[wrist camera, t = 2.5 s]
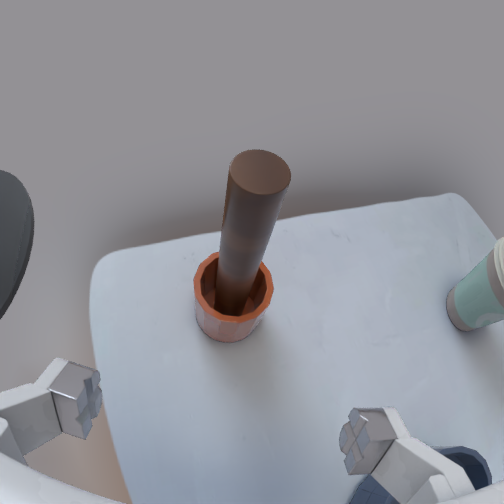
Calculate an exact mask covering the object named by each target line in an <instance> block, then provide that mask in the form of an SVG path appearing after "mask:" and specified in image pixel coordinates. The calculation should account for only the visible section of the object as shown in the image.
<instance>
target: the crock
mask: <svg viewBox="0 0 504 504" xmlns="http://www.w3.org/2000/svg"><path fill="white" fill-rule="evenodd" d="M218 260H219V252H216V253H213V254H211V255H210V256H209V257H208V258H207V259H205V260H204V261H203V262H202V263H201V264H200V265H199V267H198V270H197V272H196V274H195V277H194V280H193V281H194V297H195V310H196V319H197V321H198V324H199V326H200V327H201V329H202V330H203V331H204V332H205V333H206V334H207V335H208V336H209V337H211V338H213V339H215V340H217V341H221V342H236V341H239V340H242V339H244V338H245V337H247V336H248V335H249V334H251V332H252V331H253V330H254V329H255V328H256V327H257V325H258V323H259V322H260V320H261V318H262V316H263V315H264V313H265V311H266V309H267V308H268V306H269V304H270V301H271V297H272V294H273V290H274V287H273V282H272V277H271V273H270V271H269V270H268V269H267V267H266V266H265V265H264V263H263V262H262V261H261V264H260V266H259V269H258V272H257V274H256V277H255V280H254V283H253V285H252V288H251V291H250V294H249V296H248V299H247V302H246V304H245V307H244V310H243V312H242V315H241V316H239V317H238V316H229V315H223V314H221V313H219V312H218V311H216V310H214V299H215V289H216V279H217V269H218Z"/></svg>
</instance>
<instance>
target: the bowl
mask: <svg viewBox="0 0 504 504" xmlns="http://www.w3.org/2000/svg"><path fill="white" fill-rule="evenodd" d="M431 448H432V449H434V450H435V451H437V452H438V453H440V454H442V455H443V456H445V457H446V458H448V459H450V460H451V461H453V462H454V463H456V464H458V465H459V466H461V467H463V469H464V471H465V473H466V474H467V476H468V478H469V480H470V481H471V483H472V485H473V487H474V488H475V490H479V489H481V488H484V487H486V486H489V485H491V484H492V476H491V473H490V470H489V467H488V465H487V462H486V460H485V459H484V458H483V457H482V456H481V455H480V454H479V453H478V452H477V451H476V450H473V449H470V448H466V447H463V446H445V447H431ZM350 504H400V503H399V502H398V501H397V500H396V499H395V498H394V497H393V496H392V495H391V494H390V493H389V492H388V491H387V490H386V489H385V488H384V487H383V486H382V485H380V484H379V483H378V482H377V481H376V480H375V479H374V478H373V477H372V476H371V474H369V476H368V477H367V478H366V479H365V480H364V482H363V483H362V484H361V485H360V486H359V487H358V489H357V491H356V493H355V495H354V497H353V499H352V501H351V503H350Z"/></svg>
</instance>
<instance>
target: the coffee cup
mask: <svg viewBox="0 0 504 504" xmlns="http://www.w3.org/2000/svg"><path fill="white" fill-rule="evenodd" d="M446 304H447V311H448V315H449V317H450V319H451V321H452V323H453V324H454V325H455V326H456V327H457V328H458V329H460V330H462V331H470V330H474V329H477V328H480V327H483V326H486V325H489V324H492V323H495V322H498V321H501V320H504V237H503V238H500V239H499V240H498V241H497V242H496V245H495V248H494V249H493V250H492V251H491V252H490V253H489V254H488V255H487V256H486V257H485V258H484V259H483V260H482V261H481V262H480V263H479V264H478V265H477V266H476V267H475V268H474V269H473V270H472V271H471V272H470V273H469V274H468V275H467V276H466V277H465V278H464V279H462V280H461V281H460V282H459V283H458V284H457V285H456V286H455V287H454V288H453V289H452V290H451V291H450V292H449V294H448V296H447V303H446Z"/></svg>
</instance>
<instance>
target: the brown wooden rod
mask: <svg viewBox="0 0 504 504" xmlns="http://www.w3.org/2000/svg"><path fill="white" fill-rule="evenodd" d="M290 180H291V172H290V169H289V167H288V165H287V164H286V163H285V161H284V160H282V158H280V157H279V156H277V155H276V154H274V153H271V152H268V151H264V150H247V151H244V152H241V153H239V154H238V155H237V156H235V157H234V158H233V160H232V161H231V163H230V167H229V174H228V183H227V190H226V199H225V207H224V215H223V224H222V233H221V241H220V250H219V260H218V269H217V279H216V289H215V299H214V310H216V311H218V312H219V313H221V314H223V315H229V316H238V317H239V316H241V315H242V312H243V310H244V307H245V304H246V302H247V299H248V296H249V294H250V291H251V288H252V285H253V283H254V280H255V277H256V274H257V272H258V269H259V266H260V264H261V261H262V258H263V255H264V253H265V250H266V247H267V244H268V242H269V239H270V236H271V233H272V231H273V228H274V225H275V222H276V219H277V217H278V214H279V211H280V208H281V205H282V203H283V200H284V197H285V194H286V192H287V188H288V186H289V183H290Z"/></svg>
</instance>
